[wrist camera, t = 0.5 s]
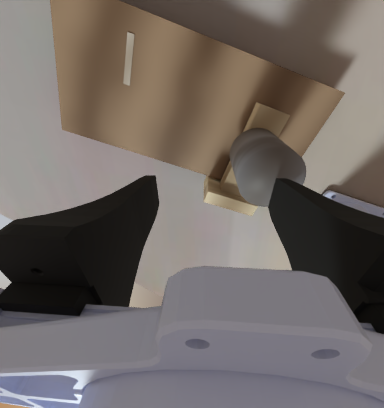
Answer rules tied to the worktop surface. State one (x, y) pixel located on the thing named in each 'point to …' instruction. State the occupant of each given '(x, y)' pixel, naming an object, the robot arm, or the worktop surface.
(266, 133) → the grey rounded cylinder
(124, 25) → the board
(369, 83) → the worktop surface
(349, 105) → the worktop surface
